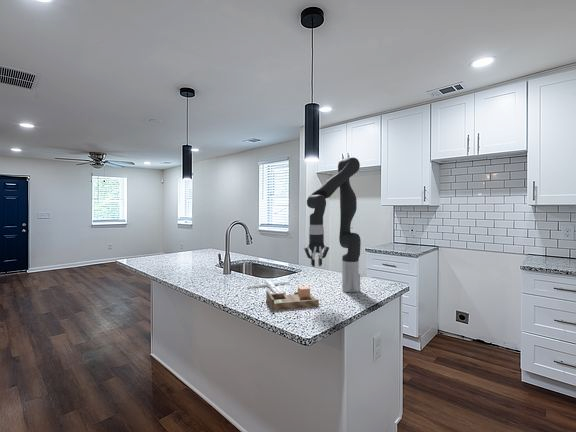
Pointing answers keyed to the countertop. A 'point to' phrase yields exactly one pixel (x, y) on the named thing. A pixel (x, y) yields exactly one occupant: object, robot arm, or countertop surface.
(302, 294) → the block
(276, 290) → the articulated figure
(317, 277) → the countertop surface
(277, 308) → the brown wooden compartment frame
